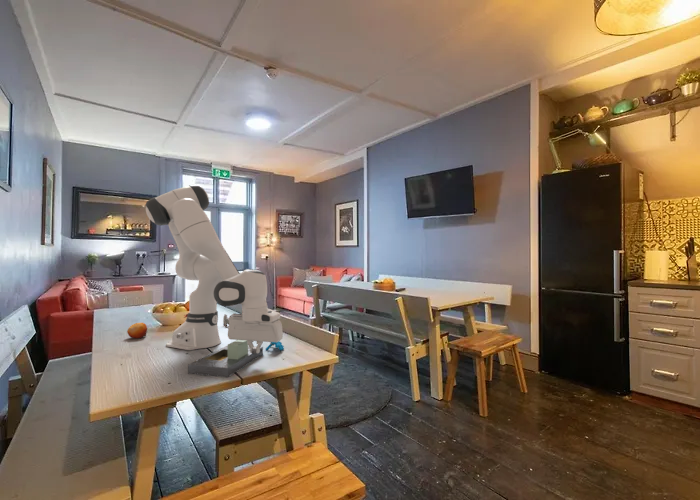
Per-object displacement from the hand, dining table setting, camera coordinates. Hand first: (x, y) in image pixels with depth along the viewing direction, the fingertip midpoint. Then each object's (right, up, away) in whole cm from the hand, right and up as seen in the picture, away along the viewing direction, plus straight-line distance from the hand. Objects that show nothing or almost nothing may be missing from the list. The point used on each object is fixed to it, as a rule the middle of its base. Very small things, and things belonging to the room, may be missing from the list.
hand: (255, 352), depth 121 cm
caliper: (-28, -5, +57) cm, 64 cm away
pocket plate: (-10, -5, +2) cm, 12 cm away
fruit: (-67, -5, +38) cm, 77 cm away
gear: (+3, -5, +19) cm, 19 cm away
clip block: (-7, -2, +1) cm, 7 cm away
